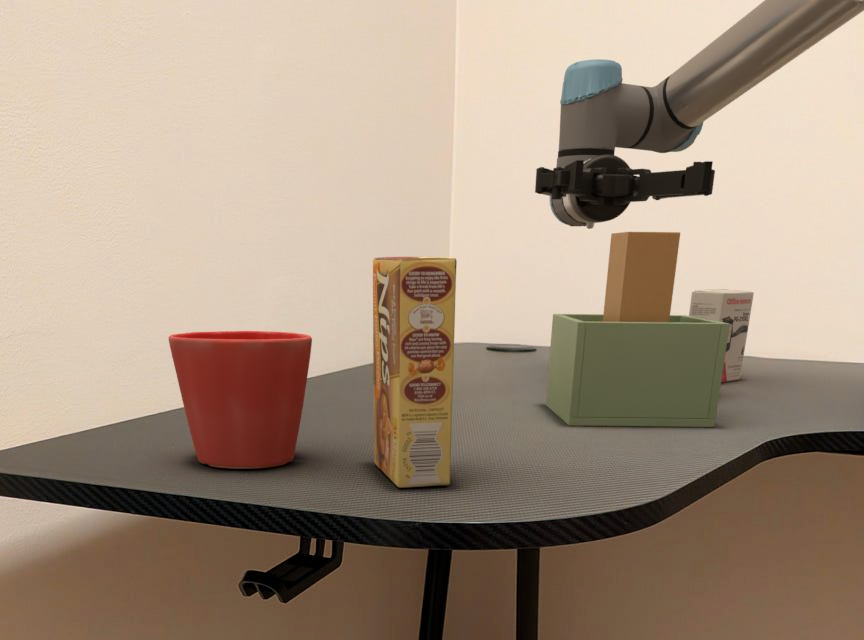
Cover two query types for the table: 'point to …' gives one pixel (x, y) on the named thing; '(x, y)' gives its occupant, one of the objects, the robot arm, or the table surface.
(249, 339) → the flower pot
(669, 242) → the block
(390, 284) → the candy box
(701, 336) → the storage bin
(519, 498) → the table surface
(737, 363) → the ink box
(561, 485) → the table surface
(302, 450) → the table surface
